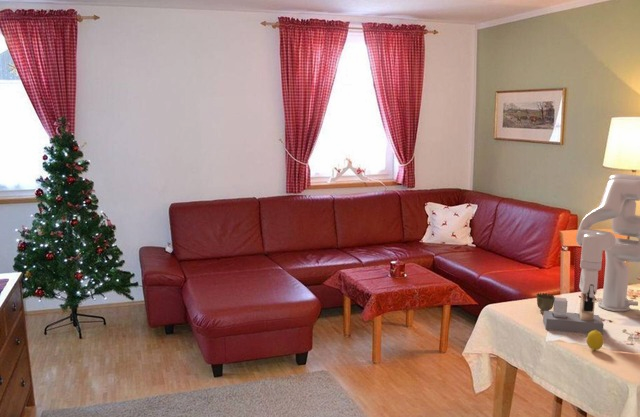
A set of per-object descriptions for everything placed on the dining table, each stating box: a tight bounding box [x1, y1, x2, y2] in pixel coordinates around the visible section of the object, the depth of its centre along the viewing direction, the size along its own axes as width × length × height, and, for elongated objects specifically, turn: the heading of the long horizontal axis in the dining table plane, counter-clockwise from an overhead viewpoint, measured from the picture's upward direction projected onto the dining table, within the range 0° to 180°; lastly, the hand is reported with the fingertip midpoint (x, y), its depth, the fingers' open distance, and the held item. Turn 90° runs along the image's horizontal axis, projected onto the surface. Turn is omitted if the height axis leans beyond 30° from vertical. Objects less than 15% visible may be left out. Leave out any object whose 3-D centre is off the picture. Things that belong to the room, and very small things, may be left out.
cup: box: [536, 292, 555, 314], centre depth 255 cm, size 8×7×8 cm
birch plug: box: [578, 292, 596, 321], centre depth 234 cm, size 4×4×12 cm
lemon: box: [586, 330, 604, 352], centre depth 215 cm, size 6×6×8 cm
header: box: [542, 310, 604, 336], centre depth 237 cm, size 21×10×5 cm, turn 76°
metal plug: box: [552, 296, 568, 319], centre depth 237 cm, size 4×4×12 cm
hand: (587, 308), depth 234 cm, fingers closed on birch plug, 4 cm apart
